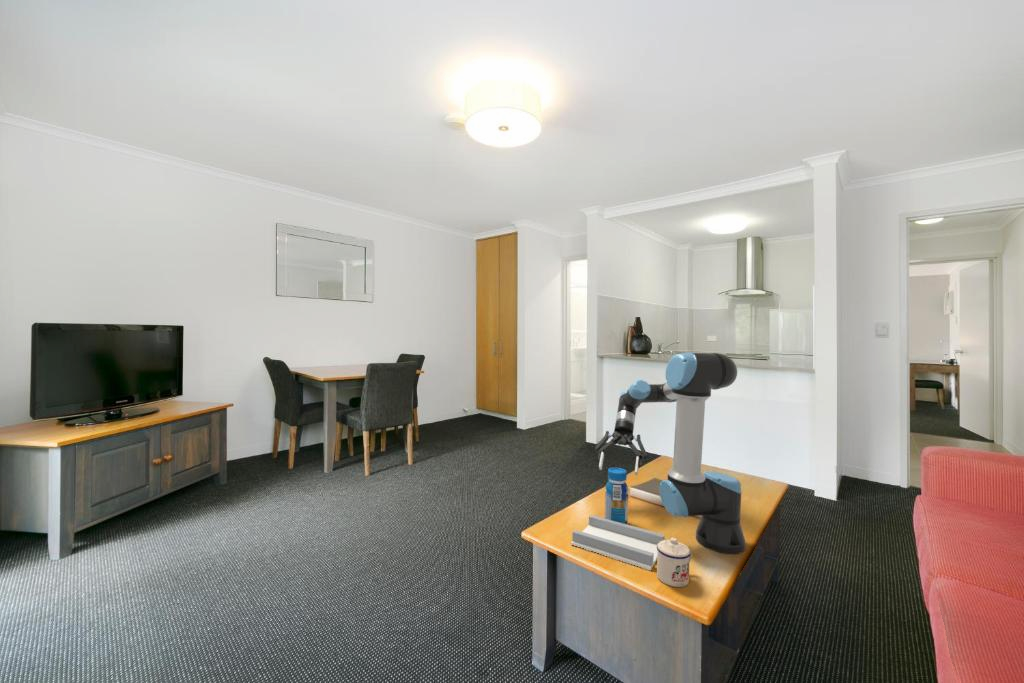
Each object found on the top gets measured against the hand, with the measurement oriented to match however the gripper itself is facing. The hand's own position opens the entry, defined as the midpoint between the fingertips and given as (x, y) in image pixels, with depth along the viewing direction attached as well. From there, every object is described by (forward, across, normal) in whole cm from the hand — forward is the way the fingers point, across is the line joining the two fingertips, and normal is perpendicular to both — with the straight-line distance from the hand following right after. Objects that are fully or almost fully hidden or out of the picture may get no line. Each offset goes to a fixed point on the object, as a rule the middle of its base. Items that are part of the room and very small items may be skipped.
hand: (617, 471), depth 161 cm
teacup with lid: (+36, -23, +11) cm, 44 cm away
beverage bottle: (+17, -1, -8) cm, 19 cm away
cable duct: (+28, -4, +4) cm, 29 cm away
